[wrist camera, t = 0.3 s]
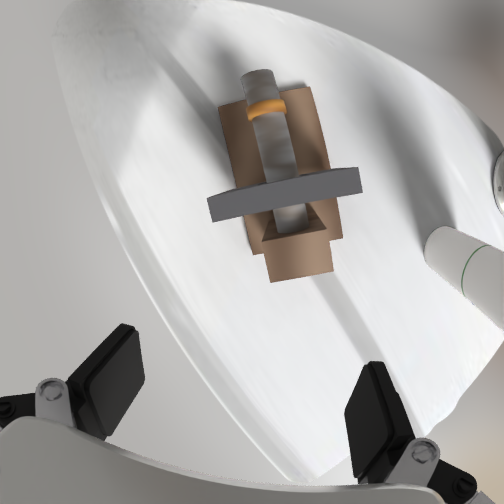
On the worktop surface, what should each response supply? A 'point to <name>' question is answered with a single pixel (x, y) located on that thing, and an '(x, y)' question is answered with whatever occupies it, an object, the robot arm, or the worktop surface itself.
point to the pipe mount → (282, 174)
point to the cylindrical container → (469, 269)
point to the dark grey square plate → (285, 193)
